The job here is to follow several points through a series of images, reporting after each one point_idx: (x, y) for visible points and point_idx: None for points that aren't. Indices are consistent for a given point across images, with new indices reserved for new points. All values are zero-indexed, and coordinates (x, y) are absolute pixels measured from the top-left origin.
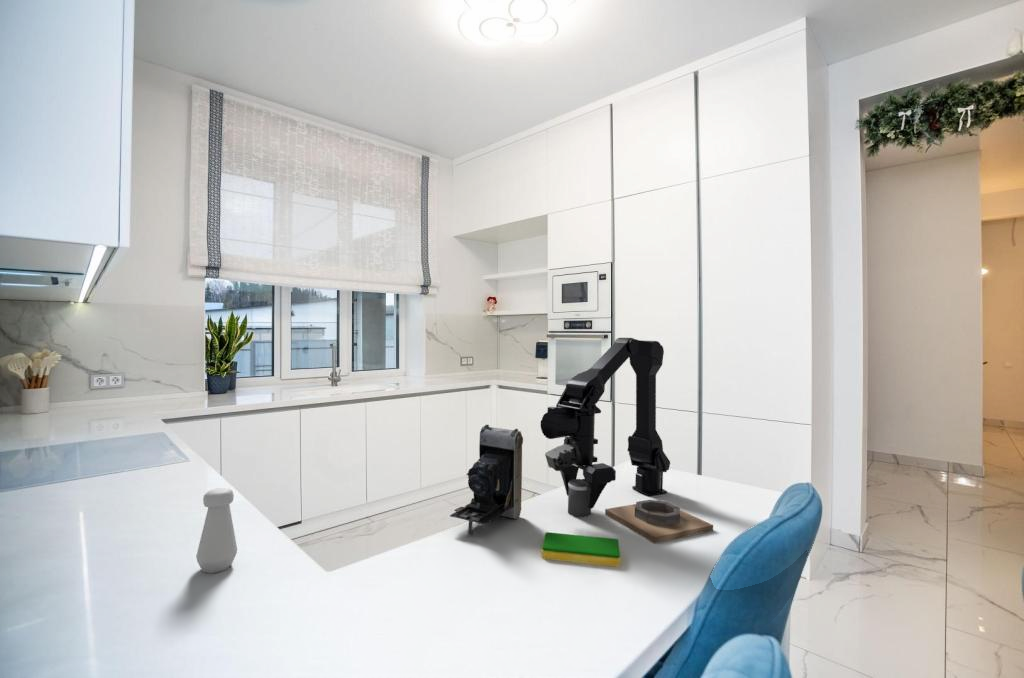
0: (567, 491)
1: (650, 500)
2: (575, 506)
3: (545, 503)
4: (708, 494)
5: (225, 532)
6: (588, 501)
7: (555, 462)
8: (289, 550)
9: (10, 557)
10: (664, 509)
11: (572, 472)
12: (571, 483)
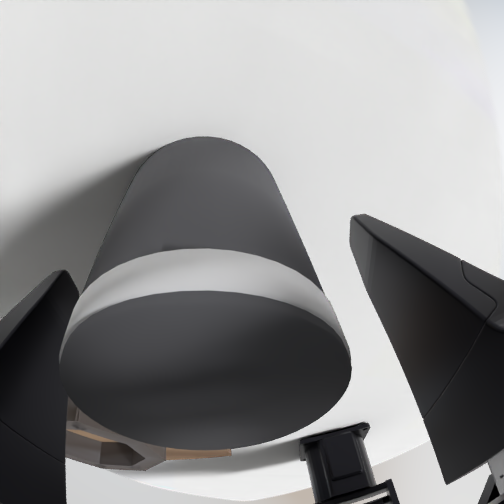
0: (366, 230)
1: (157, 459)
2: (127, 194)
3: (421, 67)
4: (266, 480)
5: None
6: (27, 300)
7: None
8: None
9: None
10: (133, 450)
11: (449, 403)
12: (163, 321)
